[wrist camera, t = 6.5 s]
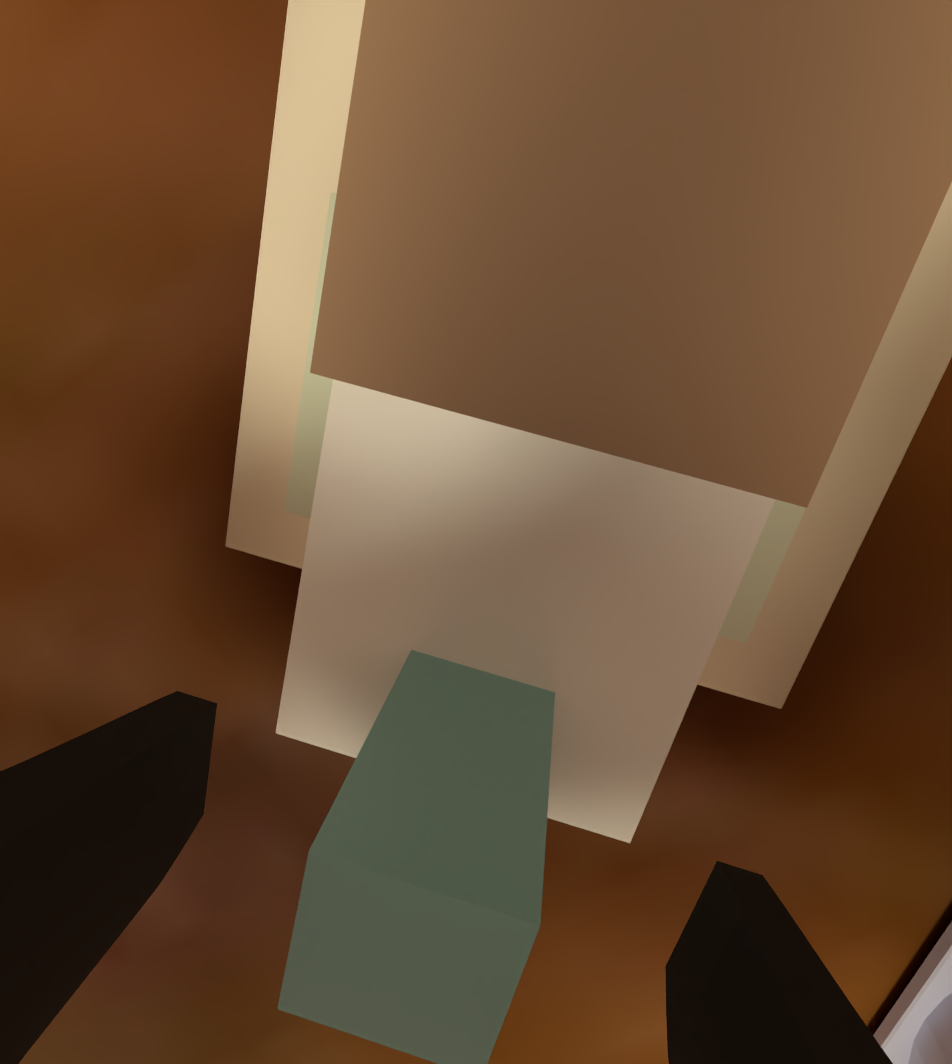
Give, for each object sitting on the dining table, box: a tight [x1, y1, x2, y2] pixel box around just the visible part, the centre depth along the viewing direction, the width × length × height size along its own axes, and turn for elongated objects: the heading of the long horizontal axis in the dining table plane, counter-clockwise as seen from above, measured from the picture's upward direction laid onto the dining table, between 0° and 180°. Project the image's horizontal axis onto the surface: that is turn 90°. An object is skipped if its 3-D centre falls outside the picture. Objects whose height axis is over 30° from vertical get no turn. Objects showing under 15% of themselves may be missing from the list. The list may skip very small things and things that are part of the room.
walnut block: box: [310, 0, 952, 508], centre depth 6 cm, size 4×4×4 cm
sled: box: [276, 379, 776, 1064], centre depth 7 cm, size 6×14×5 cm, turn 166°
